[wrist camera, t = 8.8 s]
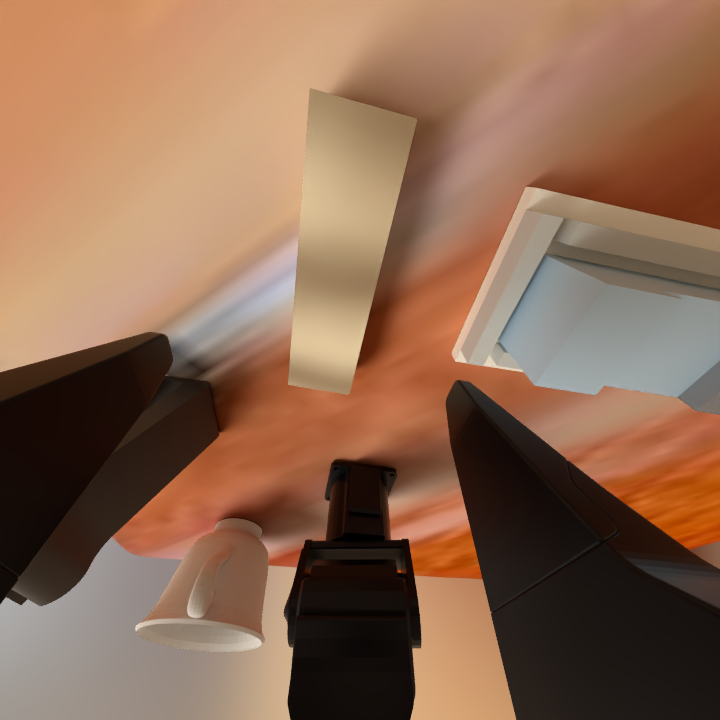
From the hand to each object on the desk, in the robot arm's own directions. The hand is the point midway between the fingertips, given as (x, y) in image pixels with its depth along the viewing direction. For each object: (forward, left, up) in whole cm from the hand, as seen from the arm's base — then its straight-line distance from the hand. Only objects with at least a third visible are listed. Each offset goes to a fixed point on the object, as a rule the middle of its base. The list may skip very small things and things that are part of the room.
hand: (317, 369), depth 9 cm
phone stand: (-13, +13, -9) cm, 21 cm away
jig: (+1, -16, -9) cm, 18 cm away
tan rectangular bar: (0, 0, -10) cm, 10 cm away
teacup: (-33, +8, -9) cm, 35 cm away
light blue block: (+1, -16, -8) cm, 18 cm away
